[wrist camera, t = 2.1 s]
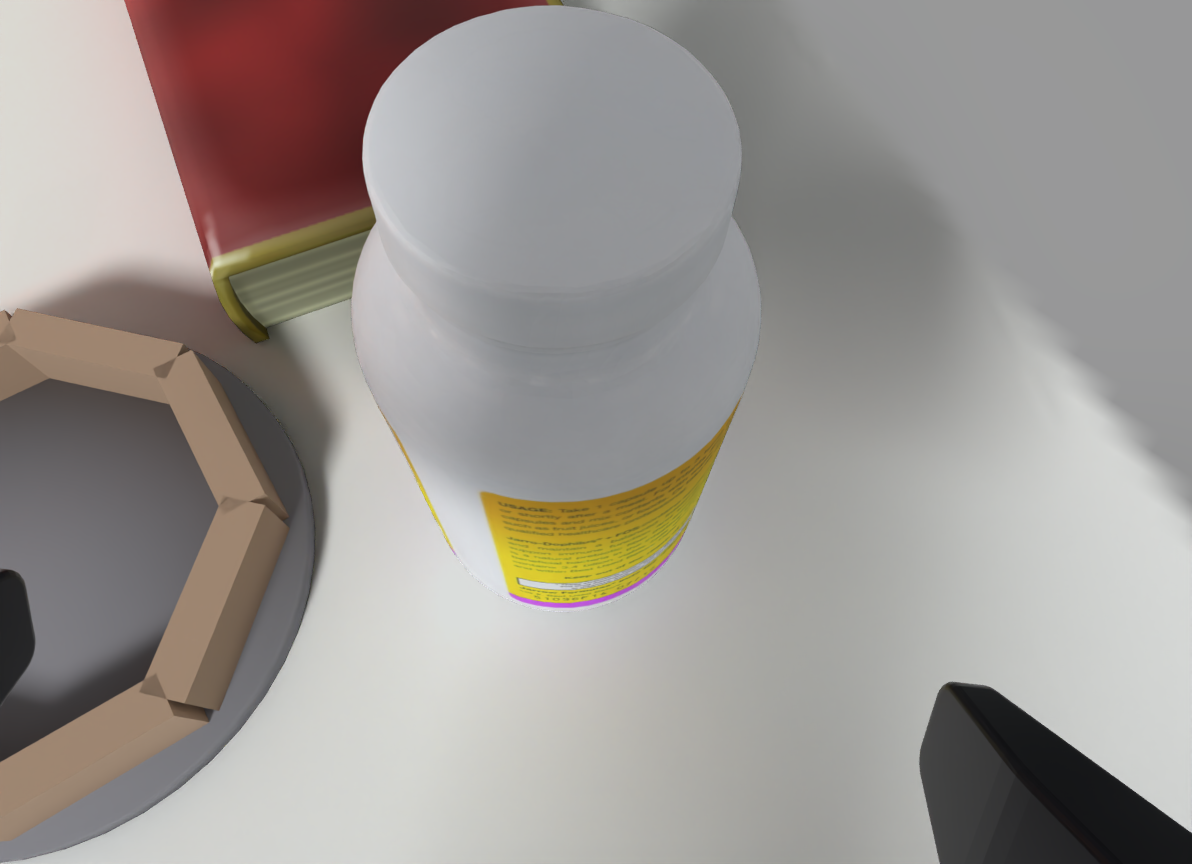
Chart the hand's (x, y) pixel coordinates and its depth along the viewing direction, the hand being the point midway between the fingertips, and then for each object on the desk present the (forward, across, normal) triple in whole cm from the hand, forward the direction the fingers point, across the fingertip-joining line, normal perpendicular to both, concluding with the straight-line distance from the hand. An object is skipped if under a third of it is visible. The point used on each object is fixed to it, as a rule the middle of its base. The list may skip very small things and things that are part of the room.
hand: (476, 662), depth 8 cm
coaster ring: (+10, +12, +7) cm, 18 cm away
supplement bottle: (+13, 0, +4) cm, 14 cm away
